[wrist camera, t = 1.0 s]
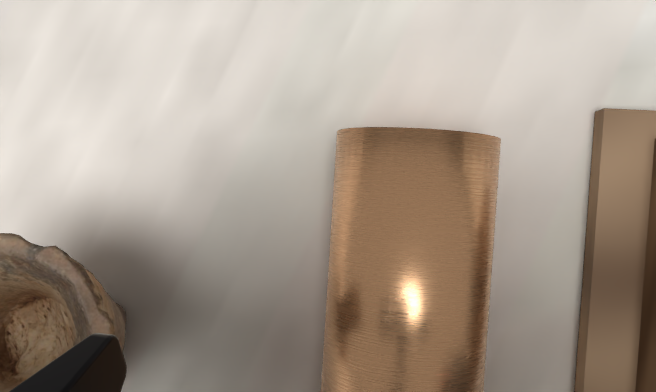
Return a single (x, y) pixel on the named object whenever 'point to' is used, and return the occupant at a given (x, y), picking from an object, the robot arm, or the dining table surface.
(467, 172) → the tan rounded oblong piece
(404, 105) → the dining table surface
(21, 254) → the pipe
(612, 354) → the pipe cradle
